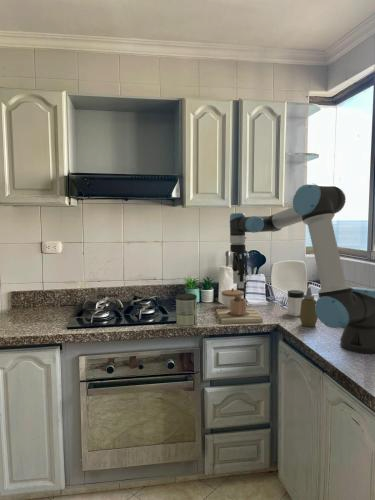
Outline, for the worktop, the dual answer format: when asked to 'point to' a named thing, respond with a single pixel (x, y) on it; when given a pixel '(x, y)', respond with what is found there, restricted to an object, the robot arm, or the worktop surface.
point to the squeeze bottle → (308, 310)
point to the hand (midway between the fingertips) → (238, 285)
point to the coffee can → (186, 310)
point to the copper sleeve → (238, 307)
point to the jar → (295, 302)
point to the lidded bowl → (230, 296)
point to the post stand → (238, 316)
